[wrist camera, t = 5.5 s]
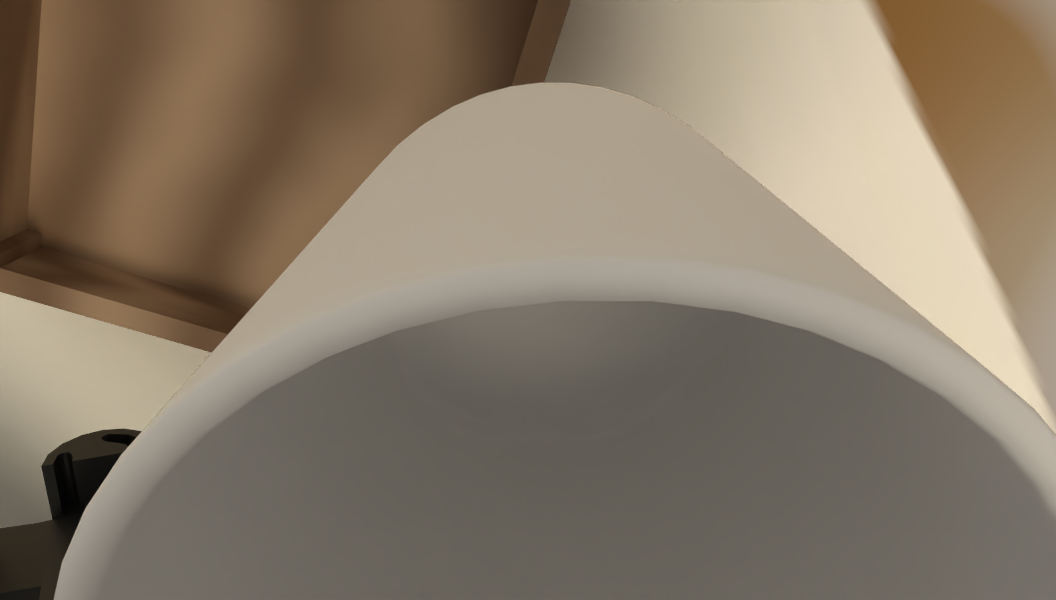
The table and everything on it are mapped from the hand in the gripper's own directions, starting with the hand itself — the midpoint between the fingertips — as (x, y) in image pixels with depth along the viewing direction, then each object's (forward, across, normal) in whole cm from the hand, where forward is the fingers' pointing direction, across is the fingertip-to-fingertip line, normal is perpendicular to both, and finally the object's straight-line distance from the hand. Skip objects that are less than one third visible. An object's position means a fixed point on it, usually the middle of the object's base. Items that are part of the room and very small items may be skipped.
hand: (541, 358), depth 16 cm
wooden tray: (+15, -10, +3) cm, 19 cm away
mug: (0, 0, 0) cm, 1 cm away
